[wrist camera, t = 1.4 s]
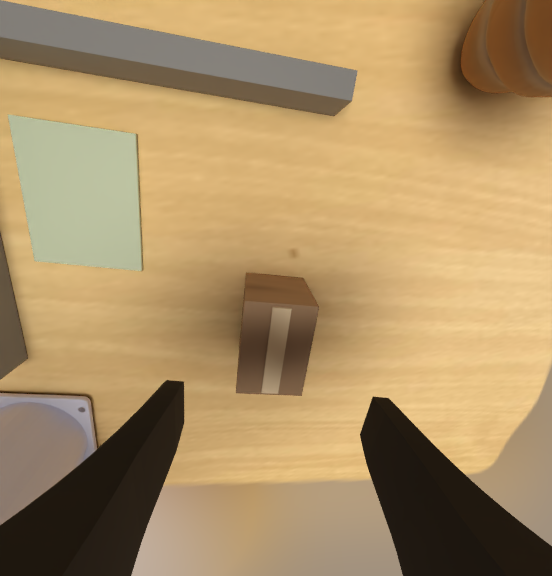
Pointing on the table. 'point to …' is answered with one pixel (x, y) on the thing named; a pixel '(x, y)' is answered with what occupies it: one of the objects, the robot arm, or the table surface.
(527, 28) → the cat ice cream
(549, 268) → the table surface
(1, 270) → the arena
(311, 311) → the brown cardboard box
